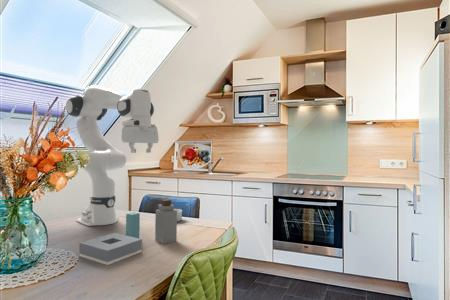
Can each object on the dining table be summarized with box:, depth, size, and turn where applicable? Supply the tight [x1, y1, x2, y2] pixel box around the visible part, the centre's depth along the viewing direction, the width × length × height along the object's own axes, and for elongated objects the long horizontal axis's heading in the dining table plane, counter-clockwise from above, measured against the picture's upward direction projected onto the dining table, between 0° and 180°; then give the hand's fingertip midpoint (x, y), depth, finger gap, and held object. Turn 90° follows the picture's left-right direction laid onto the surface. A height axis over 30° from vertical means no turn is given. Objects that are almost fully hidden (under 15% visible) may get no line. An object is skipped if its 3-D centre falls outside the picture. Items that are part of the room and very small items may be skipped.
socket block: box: [79, 232, 143, 266], centre depth 118 cm, size 16×16×5 cm
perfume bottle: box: [154, 198, 178, 245], centre depth 135 cm, size 7×7×18 cm
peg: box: [125, 212, 141, 239], centre depth 134 cm, size 4×4×12 cm
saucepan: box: [174, 208, 183, 223], centre depth 176 cm, size 12×20×6 cm, turn 7°
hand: (141, 152), depth 144 cm, fingers open, 8 cm apart
